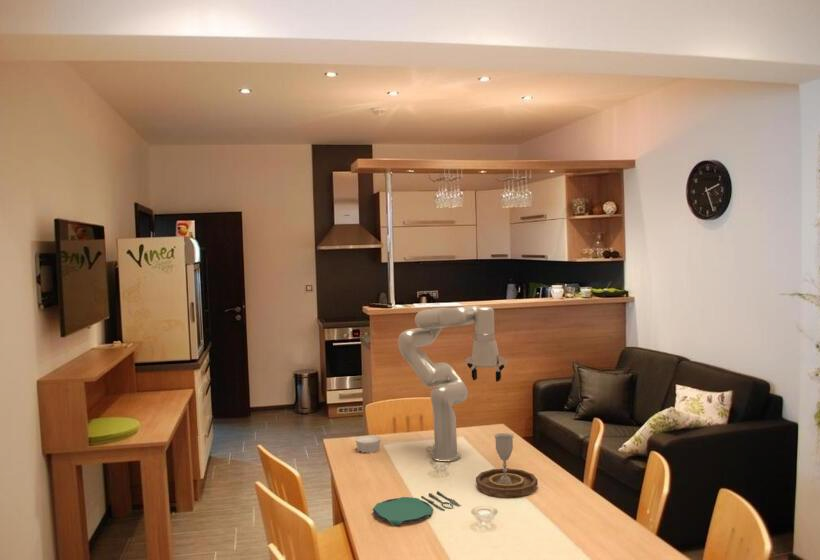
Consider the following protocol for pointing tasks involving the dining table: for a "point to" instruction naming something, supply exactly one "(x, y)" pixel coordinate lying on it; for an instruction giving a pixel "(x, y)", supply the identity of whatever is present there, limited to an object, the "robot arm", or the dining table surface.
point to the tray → (506, 492)
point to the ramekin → (368, 443)
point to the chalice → (504, 453)
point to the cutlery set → (408, 509)
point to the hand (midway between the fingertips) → (486, 380)
